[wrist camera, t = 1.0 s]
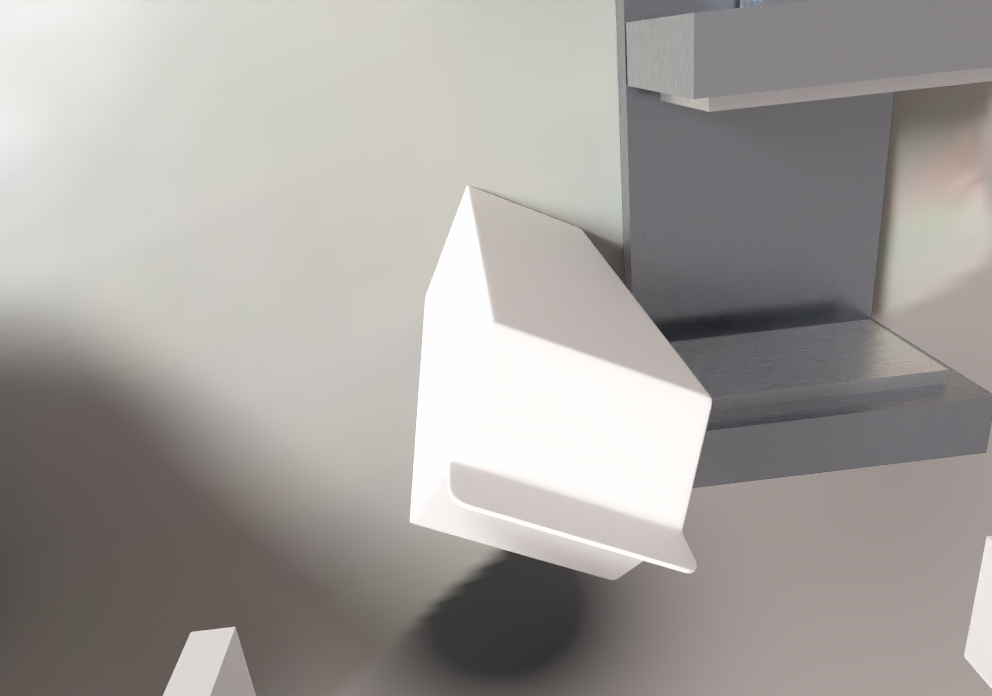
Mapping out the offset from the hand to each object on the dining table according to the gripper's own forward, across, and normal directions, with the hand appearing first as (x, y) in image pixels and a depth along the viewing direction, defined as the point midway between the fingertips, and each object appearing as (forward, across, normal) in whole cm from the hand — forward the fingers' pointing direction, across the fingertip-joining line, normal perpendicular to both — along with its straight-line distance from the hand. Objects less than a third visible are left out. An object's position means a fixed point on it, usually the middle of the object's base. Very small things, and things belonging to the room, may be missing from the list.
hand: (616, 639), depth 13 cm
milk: (+25, 0, 0) cm, 25 cm away
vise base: (+25, +12, +6) cm, 28 cm away
